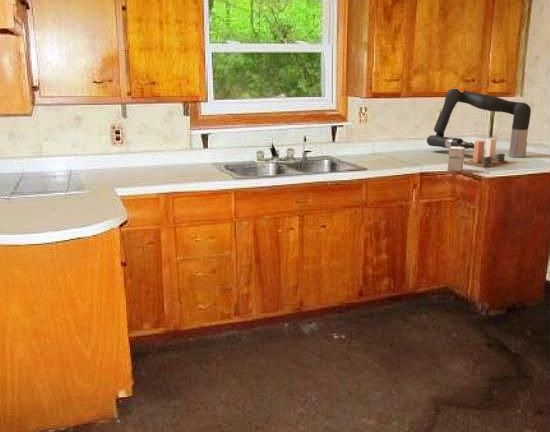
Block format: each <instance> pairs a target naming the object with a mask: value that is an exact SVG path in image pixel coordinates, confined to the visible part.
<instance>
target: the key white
mask: <svg viewBox="0 0 550 432" xmlns="http://www.w3.org/2000/svg"><path fill="white" fill-rule="evenodd" d="M497 141H498V140H497V138H493V137H491V138H490V137H489V138H487V139H486V145H485V153H484V154H485V155H484V157H492V159H495V154H496V150H497Z"/></svg>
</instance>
